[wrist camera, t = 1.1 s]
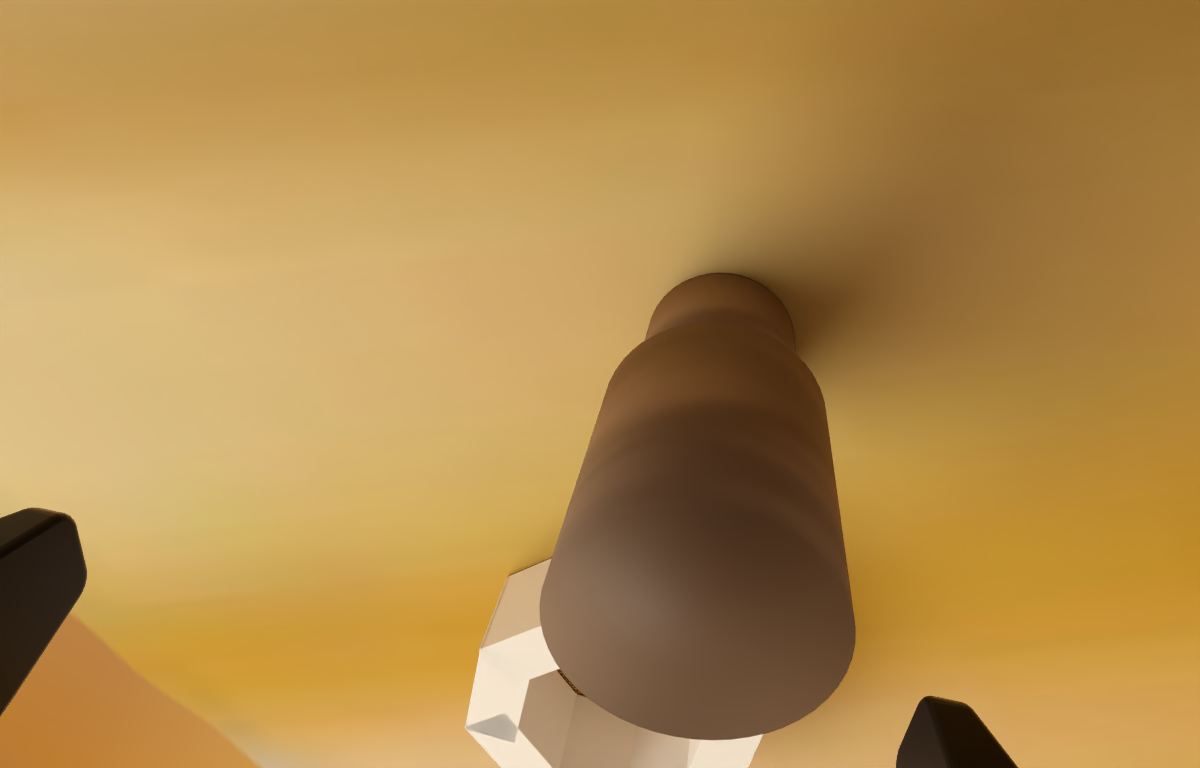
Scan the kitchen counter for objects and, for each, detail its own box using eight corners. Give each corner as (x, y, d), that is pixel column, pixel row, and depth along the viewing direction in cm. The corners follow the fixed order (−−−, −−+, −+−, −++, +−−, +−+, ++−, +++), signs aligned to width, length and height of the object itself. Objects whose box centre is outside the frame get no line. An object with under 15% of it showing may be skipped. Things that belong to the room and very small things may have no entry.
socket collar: (790, 589, 24) (794, 668, 22) (714, 766, 28) (710, 851, 26) (519, 516, 25) (491, 585, 22) (482, 700, 29) (454, 777, 26)
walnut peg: (842, 280, 20) (906, 554, 11) (781, 441, 22) (796, 772, 14) (651, 231, 20) (570, 465, 12) (611, 395, 22) (517, 693, 14)
